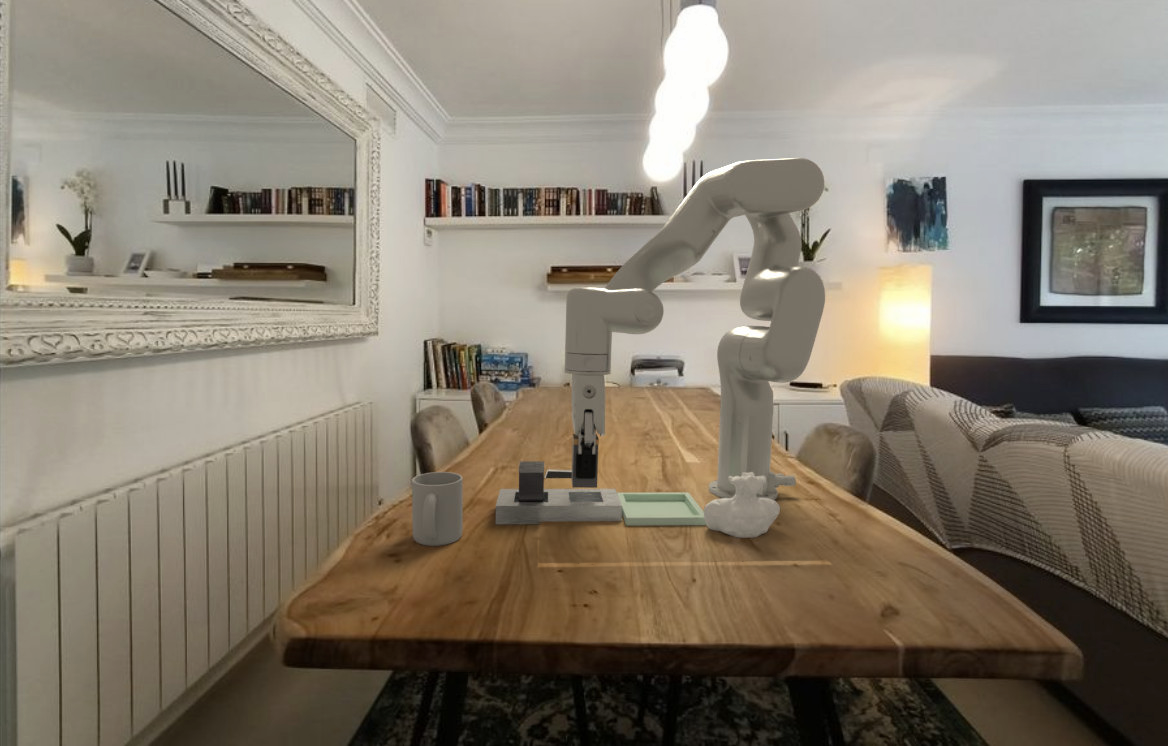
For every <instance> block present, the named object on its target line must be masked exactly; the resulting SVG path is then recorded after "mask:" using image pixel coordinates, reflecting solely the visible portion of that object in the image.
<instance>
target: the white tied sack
mask: <svg viewBox="0 0 1168 746" xmlns="http://www.w3.org/2000/svg"><path fill="white" fill-rule="evenodd" d="M754 475H755V474H753V472H750V473H745V472H743V473H742V476H741V477H739V476H735V477H732V476H729V477H728V479H729V481H730V483H731V484H734V485H735V487H736V492H735V495H734V496H733V497H732V498H716V499H713V500H711V501H709V502H708V503H707V504H705V506H704V508H703V512H704V519H705V523H706V525H705V526H707V528H708V529H709V530H712V531H716V532H721V533H723V534H726V535H729V536H732V537H734V538H735V537H736V538H741V539H743V538H744V539H745V538H748V539H749V538H758V537H759V536H762V534H765V533H767V532H768V531H769V528H770V527H771V526H772V524H773V523H774V521H775V520H776V518H778V516H779V514H780V511H781V510H780V509H781V507H780V505H779V503H778V502H777V501H776V500H772V499H769V498H757V496H756V494H757V493H758V494H761V495H762V491H763V485H764V484H765V483H766V477H765V476H763V475H762V476H754Z"/></svg>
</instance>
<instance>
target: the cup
mask: <svg viewBox="0 0 1168 746" xmlns="http://www.w3.org/2000/svg"><path fill="white" fill-rule="evenodd" d="M463 481H464V479H463V475H461V474H459V473H457V472H450V471H433V472H426V473H422V474H418V475H415V476H414V477H413V478H412V479H411V497H412V498H411V500H412V501H411V502H412V503H411V504H412V505H411V507H412V510H411V512H412V514H411V515H412V537H413V540H414V541H415V542H416V543H418V544H420V545H423V546H426V547H427V546H429V547H430V546H431V547H439V546H445V545H446V546H447V545H449V544H453V543H455V542H457V541H459V540H460V539H461V537H462V535H463V527H464V525H463V523H464V522H463V520H464V519H463V518H464V517H463V516H464V515H463V514H464V511H463V506H464V504H463V493H464V491H463V489H464V488H463V485H464V484H463V483H464V482H463Z"/></svg>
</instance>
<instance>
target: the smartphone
mask: <svg viewBox="0 0 1168 746" xmlns="http://www.w3.org/2000/svg"><path fill="white" fill-rule="evenodd" d="M544 479H572V469H552V468H551V469H546V472H545V474H544Z"/></svg>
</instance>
